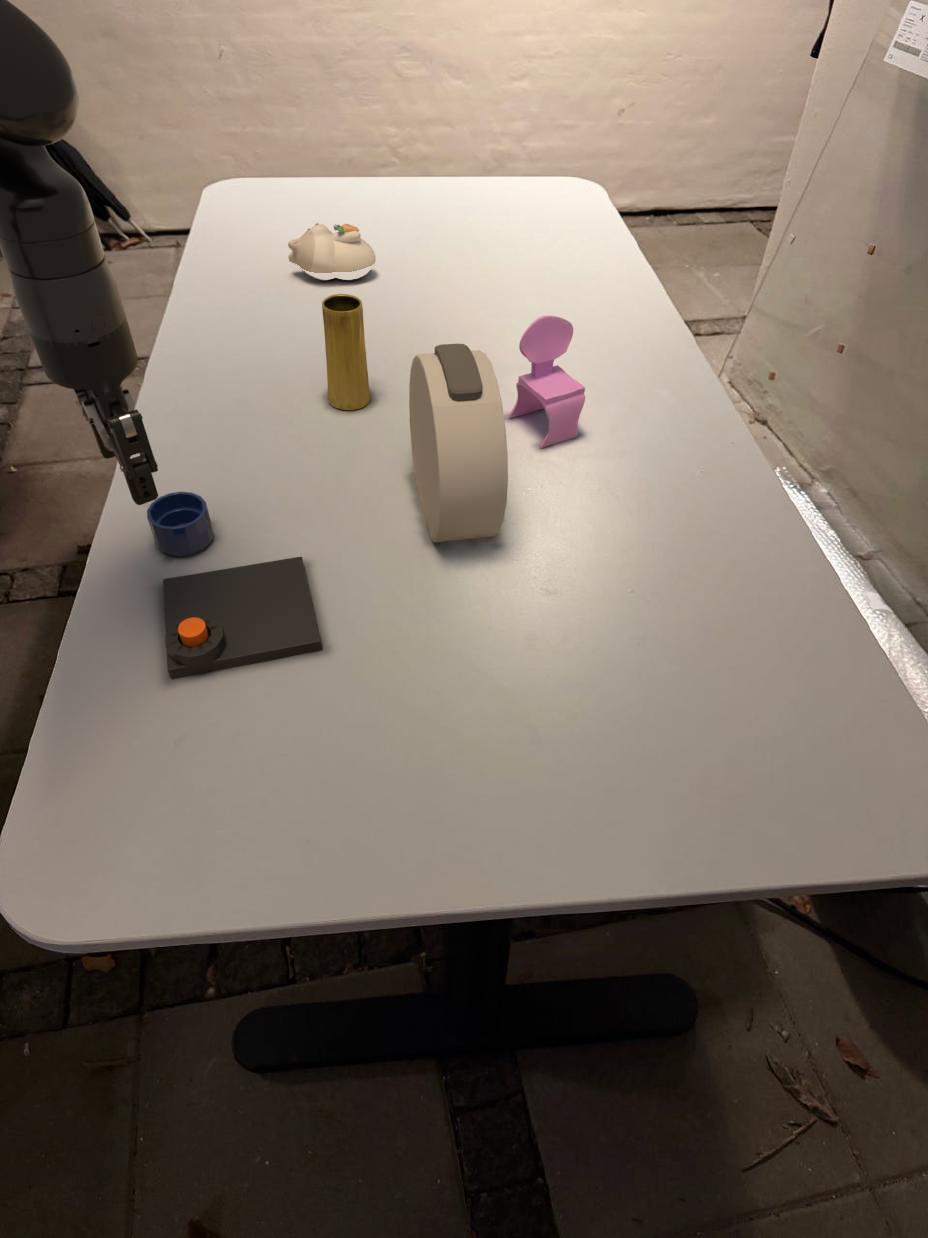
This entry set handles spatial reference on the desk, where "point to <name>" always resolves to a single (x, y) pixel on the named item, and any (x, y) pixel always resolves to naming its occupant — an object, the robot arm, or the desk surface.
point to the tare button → (193, 632)
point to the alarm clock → (458, 442)
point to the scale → (240, 616)
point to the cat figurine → (331, 250)
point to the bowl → (180, 523)
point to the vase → (345, 352)
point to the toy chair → (549, 379)
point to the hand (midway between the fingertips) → (130, 476)
